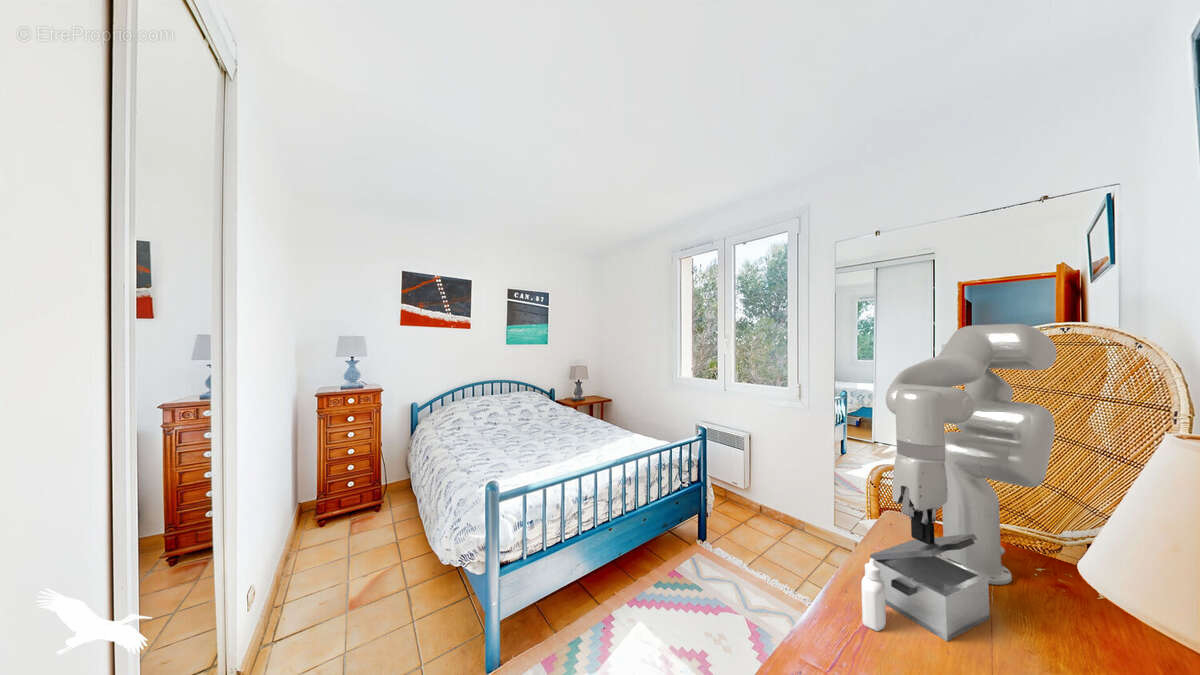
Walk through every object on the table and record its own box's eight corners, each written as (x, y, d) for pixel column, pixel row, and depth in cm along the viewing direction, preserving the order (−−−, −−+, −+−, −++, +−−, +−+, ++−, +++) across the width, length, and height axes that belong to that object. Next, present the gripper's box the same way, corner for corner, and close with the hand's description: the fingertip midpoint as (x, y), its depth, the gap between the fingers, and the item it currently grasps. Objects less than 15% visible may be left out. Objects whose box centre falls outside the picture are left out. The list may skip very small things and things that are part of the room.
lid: (915, 544, 83) (912, 539, 83) (988, 538, 71) (985, 532, 72) (872, 560, 77) (869, 554, 78) (944, 555, 66) (940, 549, 66)
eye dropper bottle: (897, 628, 69) (895, 564, 69) (872, 633, 68) (870, 568, 68) (875, 611, 74) (873, 551, 74) (851, 616, 72) (850, 555, 73)
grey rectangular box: (923, 578, 83) (922, 543, 83) (996, 615, 72) (994, 574, 72) (868, 601, 76) (867, 562, 76) (938, 645, 65) (937, 600, 65)
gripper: (922, 441, 81) (924, 525, 81) (876, 449, 76) (878, 538, 76) (965, 450, 74) (968, 542, 74) (917, 460, 69) (920, 558, 69)
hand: (922, 540), depth 75 cm, fingers closed
